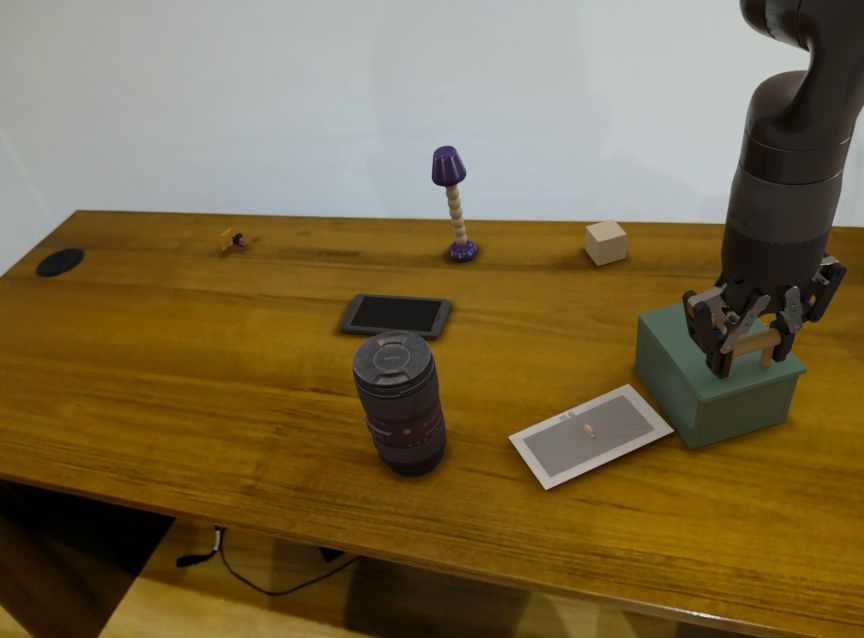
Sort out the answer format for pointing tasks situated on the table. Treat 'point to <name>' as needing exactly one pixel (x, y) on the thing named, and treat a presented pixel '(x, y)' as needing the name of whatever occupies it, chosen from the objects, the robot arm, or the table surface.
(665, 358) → the chest
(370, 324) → the cell phone
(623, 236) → the block
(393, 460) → the camera lens
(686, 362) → the lid
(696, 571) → the table surface
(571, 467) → the touchpad
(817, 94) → the robot arm
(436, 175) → the toy lamp
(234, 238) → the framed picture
